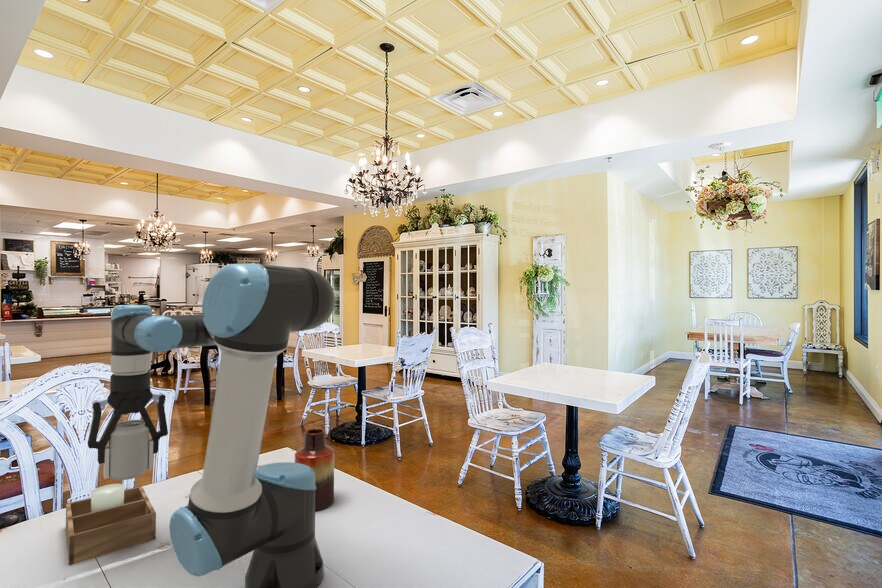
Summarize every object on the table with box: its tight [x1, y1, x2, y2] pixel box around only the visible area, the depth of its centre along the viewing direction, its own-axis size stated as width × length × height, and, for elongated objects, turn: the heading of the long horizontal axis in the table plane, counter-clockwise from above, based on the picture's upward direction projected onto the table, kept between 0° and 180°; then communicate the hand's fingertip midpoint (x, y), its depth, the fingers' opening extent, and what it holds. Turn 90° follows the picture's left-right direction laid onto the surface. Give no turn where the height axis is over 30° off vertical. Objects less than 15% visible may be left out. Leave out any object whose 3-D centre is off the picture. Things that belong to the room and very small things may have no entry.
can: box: [108, 419, 150, 481], centre depth 100 cm, size 8×8×12 cm
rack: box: [65, 485, 157, 566], centre depth 106 cm, size 20×16×7 cm
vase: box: [294, 428, 335, 513], centre depth 124 cm, size 11×11×20 cm
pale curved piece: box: [90, 483, 125, 512], centre depth 109 cm, size 7×7×9 cm
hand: (128, 471), depth 100 cm, fingers closed on can, 8 cm apart
